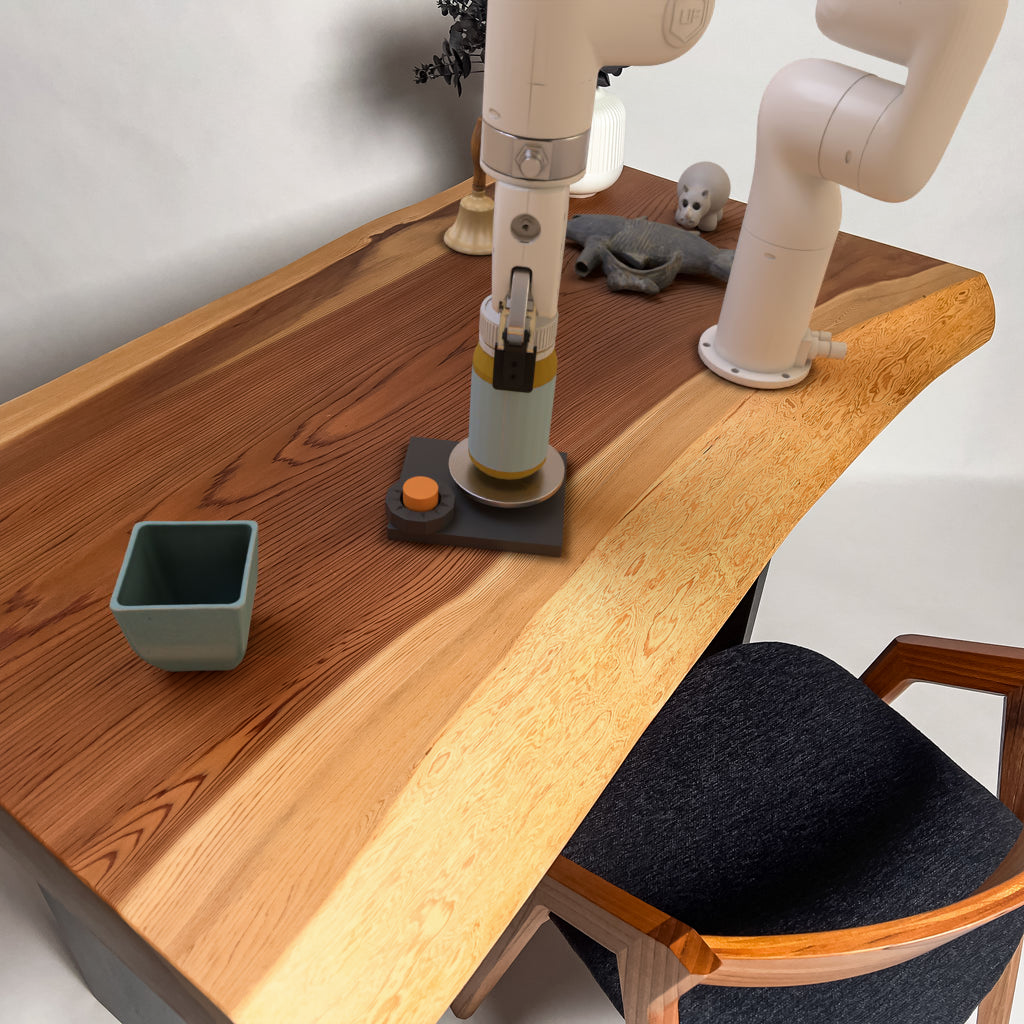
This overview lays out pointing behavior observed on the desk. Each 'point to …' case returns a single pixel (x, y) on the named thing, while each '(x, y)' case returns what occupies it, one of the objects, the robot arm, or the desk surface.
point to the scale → (470, 510)
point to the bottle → (511, 403)
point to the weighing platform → (505, 480)
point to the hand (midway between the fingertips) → (516, 361)
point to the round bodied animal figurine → (702, 195)
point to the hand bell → (474, 210)
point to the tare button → (420, 494)
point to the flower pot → (188, 593)
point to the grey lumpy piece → (643, 252)
